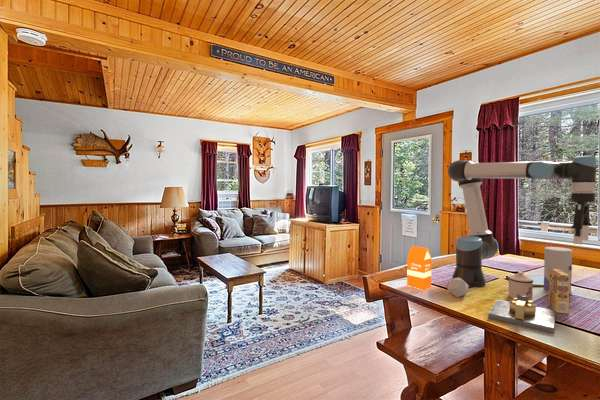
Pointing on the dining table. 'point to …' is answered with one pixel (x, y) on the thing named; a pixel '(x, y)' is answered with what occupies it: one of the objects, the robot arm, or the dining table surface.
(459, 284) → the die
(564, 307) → the candy box
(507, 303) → the flange plate
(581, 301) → the dining table surface
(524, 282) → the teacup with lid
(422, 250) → the orange juice
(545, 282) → the container
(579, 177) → the robot arm
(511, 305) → the beige lumpy block
